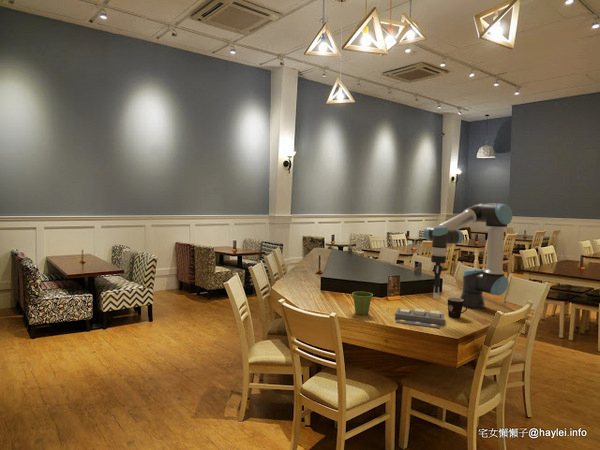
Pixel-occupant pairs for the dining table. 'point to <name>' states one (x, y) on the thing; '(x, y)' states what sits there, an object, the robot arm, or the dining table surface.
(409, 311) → the button far
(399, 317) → the button board
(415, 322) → the pattern card
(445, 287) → the dining table surface
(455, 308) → the coffee mug
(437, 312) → the button near
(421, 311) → the button middle
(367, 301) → the plant pot
